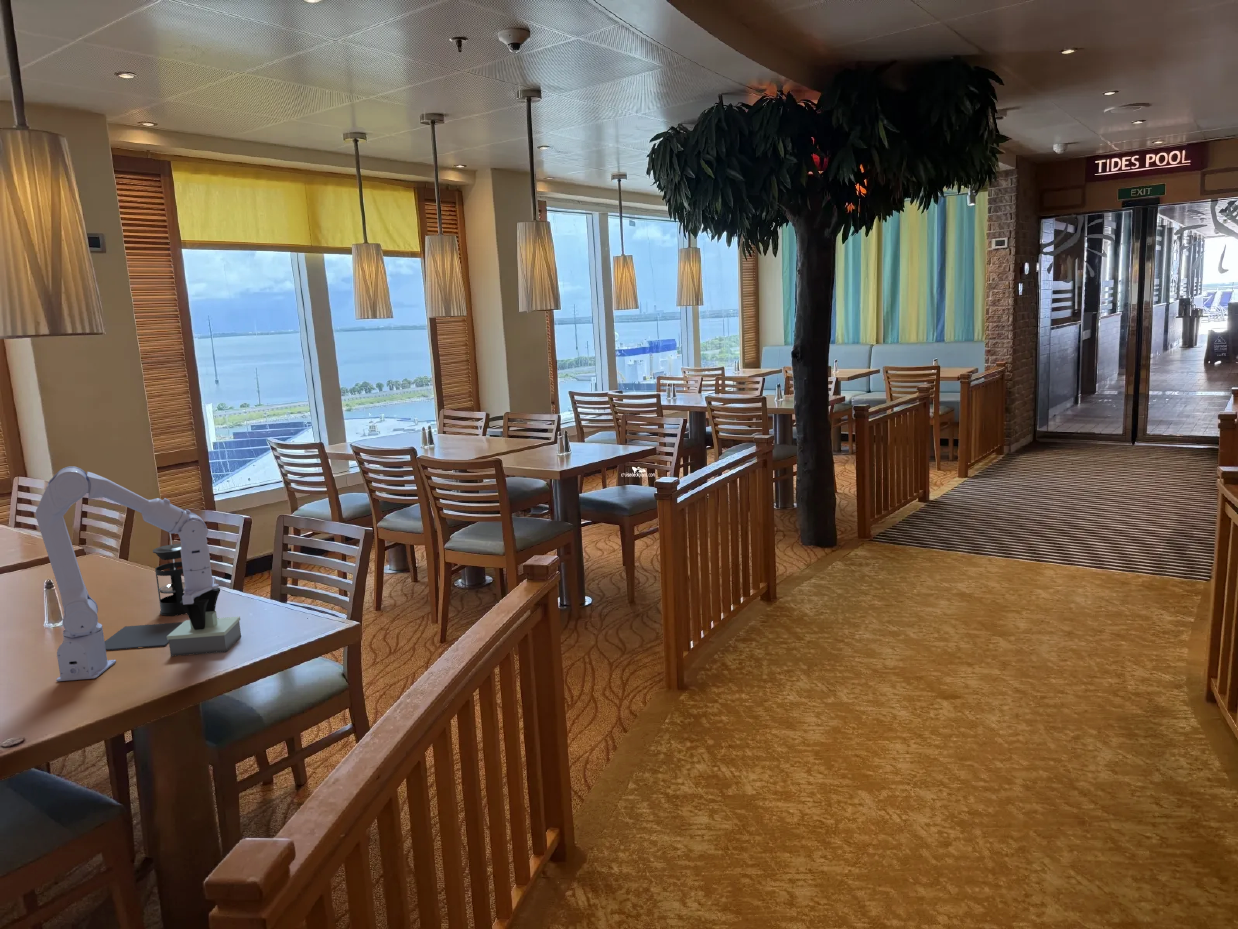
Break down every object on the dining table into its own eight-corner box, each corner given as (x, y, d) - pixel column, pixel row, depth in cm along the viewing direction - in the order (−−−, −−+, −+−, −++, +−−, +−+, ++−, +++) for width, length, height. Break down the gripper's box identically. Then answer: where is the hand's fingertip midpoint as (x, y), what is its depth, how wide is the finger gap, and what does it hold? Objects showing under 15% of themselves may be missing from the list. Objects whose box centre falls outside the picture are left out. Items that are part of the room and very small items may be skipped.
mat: (165, 646, 198) (165, 644, 198) (92, 651, 196) (92, 650, 196) (192, 623, 214) (192, 621, 213) (125, 628, 212) (125, 626, 212)
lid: (225, 638, 192) (222, 619, 191) (167, 643, 191) (164, 623, 190) (240, 623, 202) (238, 604, 201) (186, 627, 201) (183, 608, 200)
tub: (226, 652, 192) (224, 635, 192) (170, 656, 191) (168, 639, 191) (241, 636, 202) (239, 620, 202) (188, 640, 201) (186, 624, 200)
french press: (159, 619, 218) (147, 531, 214) (155, 610, 225) (143, 525, 222) (209, 609, 224) (198, 523, 220) (204, 600, 232) (193, 518, 228)
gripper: (203, 575, 187) (210, 634, 189) (226, 557, 201) (233, 613, 203) (169, 577, 186) (177, 637, 189) (195, 560, 201) (202, 615, 203)
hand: (204, 624), depth 196 cm, fingers open, 5 cm apart
